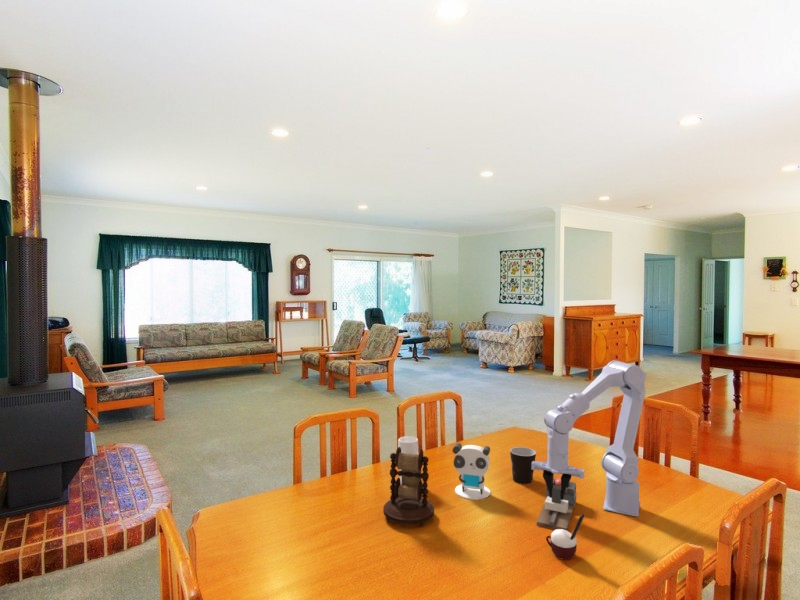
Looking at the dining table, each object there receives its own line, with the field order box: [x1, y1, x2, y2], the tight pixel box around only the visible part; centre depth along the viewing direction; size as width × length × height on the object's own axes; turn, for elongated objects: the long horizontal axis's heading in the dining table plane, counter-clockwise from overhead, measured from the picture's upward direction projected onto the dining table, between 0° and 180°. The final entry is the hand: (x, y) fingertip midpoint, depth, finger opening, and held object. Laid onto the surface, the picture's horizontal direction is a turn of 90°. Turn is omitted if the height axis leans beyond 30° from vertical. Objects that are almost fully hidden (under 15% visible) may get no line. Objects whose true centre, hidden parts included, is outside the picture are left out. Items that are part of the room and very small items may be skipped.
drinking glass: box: [397, 435, 419, 485], centre depth 161 cm, size 7×7×15 cm
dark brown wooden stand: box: [382, 446, 435, 528], centre depth 139 cm, size 15×15×20 cm
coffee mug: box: [509, 446, 537, 485], centre depth 165 cm, size 12×9×10 cm
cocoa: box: [545, 513, 585, 560], centre depth 119 cm, size 10×6×12 cm, turn 22°
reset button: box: [554, 477, 567, 488], centre depth 148 cm, size 4×4×2 cm
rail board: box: [536, 478, 577, 531], centre depth 141 cm, size 8×20×6 cm, turn 153°
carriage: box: [544, 485, 568, 513], centre depth 140 cm, size 6×4×6 cm, turn 63°
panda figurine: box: [452, 442, 491, 501], centre depth 155 cm, size 12×11×15 cm
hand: (556, 497), depth 140 cm, fingers closed on carriage, 2 cm apart
